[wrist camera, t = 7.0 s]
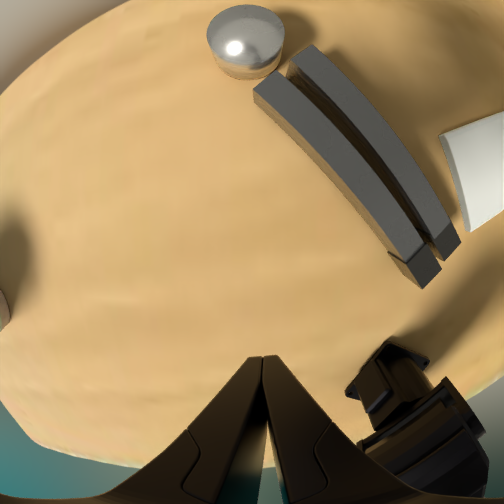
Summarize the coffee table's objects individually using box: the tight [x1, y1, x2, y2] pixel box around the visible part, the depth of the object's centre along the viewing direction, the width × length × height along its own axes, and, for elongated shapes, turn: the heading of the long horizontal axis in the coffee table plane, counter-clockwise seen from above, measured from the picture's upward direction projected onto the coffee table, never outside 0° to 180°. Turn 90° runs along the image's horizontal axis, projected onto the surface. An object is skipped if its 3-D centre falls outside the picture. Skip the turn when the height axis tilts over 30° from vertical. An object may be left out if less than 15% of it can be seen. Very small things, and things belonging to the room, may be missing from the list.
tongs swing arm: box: [207, 5, 442, 289], centre depth 15 cm, size 21×5×3 cm, turn 45°
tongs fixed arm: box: [286, 45, 461, 261], centre depth 15 cm, size 16×2×3 cm, turn 43°
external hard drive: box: [439, 111, 504, 232], centre depth 16 cm, size 2×8×12 cm
